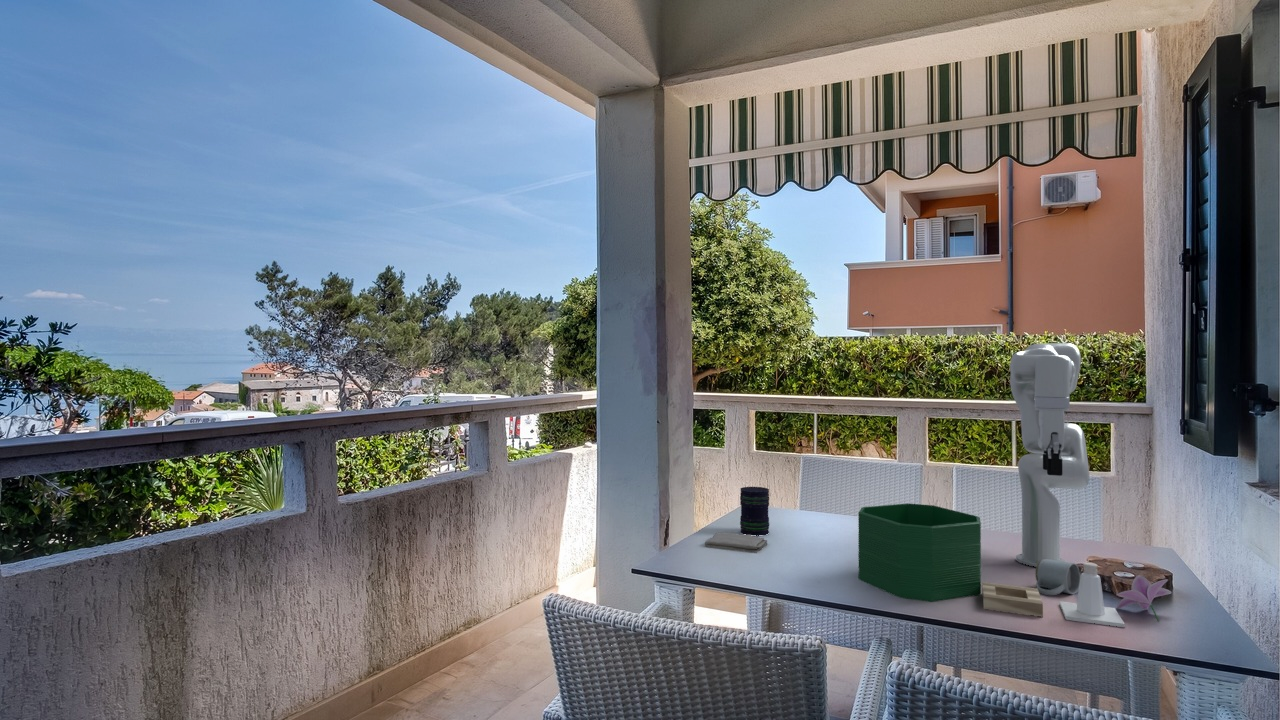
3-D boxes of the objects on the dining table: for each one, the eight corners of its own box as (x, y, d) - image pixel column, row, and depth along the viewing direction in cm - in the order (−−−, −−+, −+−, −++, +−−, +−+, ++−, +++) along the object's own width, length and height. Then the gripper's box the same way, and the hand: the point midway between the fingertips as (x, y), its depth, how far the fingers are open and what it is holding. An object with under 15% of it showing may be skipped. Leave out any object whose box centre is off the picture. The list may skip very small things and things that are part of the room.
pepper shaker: (1104, 610, 158) (1104, 562, 158) (1105, 618, 154) (1105, 568, 154) (1076, 606, 161) (1076, 559, 161) (1076, 613, 156) (1076, 564, 157)
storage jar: (757, 537, 229) (757, 492, 229) (734, 532, 236) (734, 488, 236) (775, 533, 236) (775, 489, 236) (752, 528, 243) (752, 485, 243)
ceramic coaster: (1059, 604, 165) (1059, 601, 165) (1114, 611, 160) (1114, 608, 160) (1065, 619, 155) (1065, 616, 155) (1124, 627, 150) (1124, 623, 150)
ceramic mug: (1046, 583, 181) (1046, 553, 181) (1081, 591, 175) (1080, 560, 175) (1027, 591, 175) (1027, 561, 175) (1062, 600, 168) (1062, 568, 168)
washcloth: (759, 554, 210) (759, 544, 210) (703, 548, 217) (703, 538, 217) (768, 545, 221) (768, 536, 221) (714, 539, 228) (714, 530, 228)
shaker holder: (982, 594, 172) (982, 582, 172) (1037, 601, 167) (1037, 588, 167) (983, 609, 161) (983, 596, 161) (1042, 617, 156) (1042, 603, 156)
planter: (846, 574, 189) (845, 507, 189) (921, 565, 198) (920, 501, 198) (914, 605, 165) (914, 528, 165) (996, 592, 174) (996, 520, 174)
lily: (1182, 620, 158) (1162, 577, 162) (1191, 614, 148) (1169, 569, 153) (1123, 629, 162) (1105, 587, 167) (1127, 624, 153) (1108, 580, 157)
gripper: (1031, 402, 183) (1032, 467, 182) (1038, 405, 167) (1038, 476, 167) (1064, 403, 179) (1065, 469, 179) (1074, 406, 164) (1074, 478, 164)
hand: (1052, 472), depth 173 cm, fingers open, 9 cm apart
